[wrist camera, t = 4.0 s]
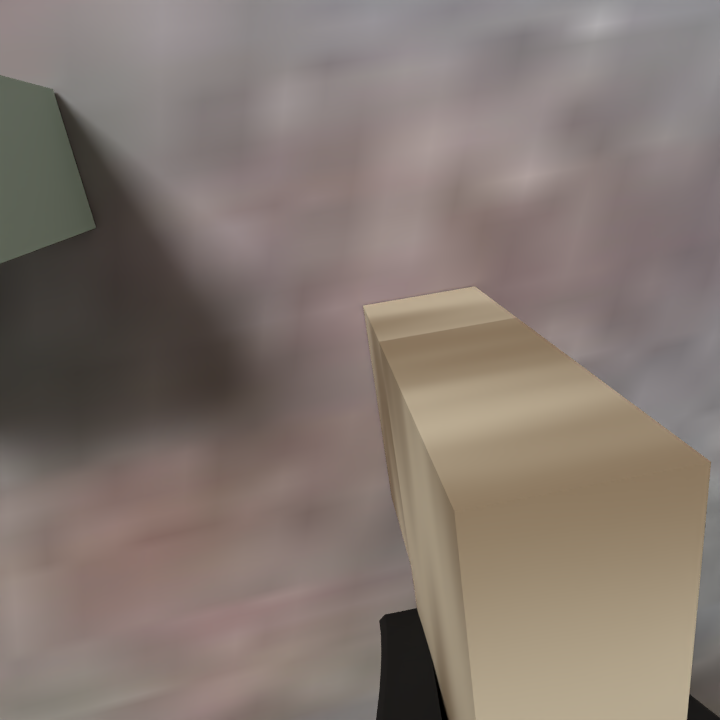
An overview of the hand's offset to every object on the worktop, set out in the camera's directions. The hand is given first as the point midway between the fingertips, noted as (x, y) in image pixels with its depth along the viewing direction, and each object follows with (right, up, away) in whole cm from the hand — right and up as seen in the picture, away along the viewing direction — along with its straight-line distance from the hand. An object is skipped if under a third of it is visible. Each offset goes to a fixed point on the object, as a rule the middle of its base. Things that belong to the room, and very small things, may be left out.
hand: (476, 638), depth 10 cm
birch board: (0, +1, +2) cm, 2 cm away
